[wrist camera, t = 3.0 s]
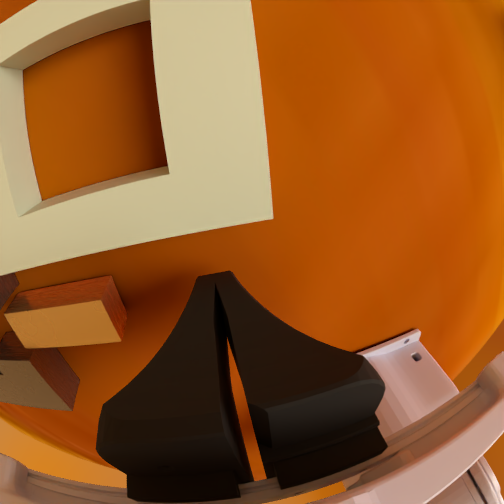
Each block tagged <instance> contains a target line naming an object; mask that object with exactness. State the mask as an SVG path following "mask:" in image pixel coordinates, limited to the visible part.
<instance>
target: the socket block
mask: <svg viewBox="0 0 504 504" xmlns="http://www.w3.org/2000/svg"><path fill="white" fill-rule="evenodd" d="M18 285H19V282H18V280H17V278H16V276H15V274H14V272H13V273H9V274H5V275H1V276H0V309H1V308H2V306H3V305H4V303H5V302H6V301H7V299H8V298H9V296H10V295H11V294H12V292H13V291H14V290H15V288H16V287H17V286H18ZM79 381H80V380H79V378H78V377H77V376H76V374H75V373H74V372H73V371H72V369H71V368H70V367H69V365H68V364H67V362H66V361H65V360H64V358H63V357H62V355H61V354H60V353H59V351H58V350H57V348H56V347H49V348H25V347H24V345H23V344H22V342H21V341H20V339H19V338H18V336H17V335H16V333H15V332H14V331H13V332H6V333H5V335H4V337H3V339H2V340H1V342H0V402H5V403H11V404H16V405H23V406H29V407H37V408H45V409H55V410H67V411H73V407H74V402H75V398H76V394H77V389H78V385H79Z"/></svg>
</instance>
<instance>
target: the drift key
mask: <svg viewBox="0 0 504 504" xmlns="http://www.w3.org/2000/svg"><path fill="white" fill-rule="evenodd" d="M4 316H5V317H6V319H7V321H8V322H9V324H10V325H11V327H12V329H13V330H14V332H15V333H16V335H17V336H18V338H19V339H20V341H21V342H22V344H23V345H24V347H25V348H49V347H66V346H79V345H91V344H101V343H111V342H120V341H122V338H123V333H124V329H125V324H126V320H127V316H128V314H127V312H126V309H125V307H124V305H123V302H122V300H121V298H120V295H119V293H118V291H117V288H116V286H115V283H114V281H113V278H112V276H111V275H109V276H104V277H99V278H93V279H88V280H83V281H78V282H72V283H67V284H62V285H57V286H51V287H46V288H41V289H36V290H31V291H25V292H20V293H18V294H17V296H16V297H15V298H14V300H13V301H12V303H11V304H10V306H9V307H8V308H7V310H6V311H5V313H4Z"/></svg>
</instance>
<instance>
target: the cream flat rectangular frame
mask: <svg viewBox="0 0 504 504" xmlns="http://www.w3.org/2000/svg"><path fill="white" fill-rule="evenodd" d="M148 20H151V32H152V46H153V58H154V68H155V78H156V87H157V95H158V103H159V111H160V118H161V125H162V131H163V138H164V144H165V150H166V156H167V162H168V166H164V167H160V168H155V169H151V170H146V171H142V172H138V173H134V174H130V175H126V176H122V177H118V178H114V179H110V180H107V181H103V182H100V183H96V184H93V185H89V186H86V187H83V188H80V189H76V190H73V191H70V192H67V193H64V194H61V195H58V196H55V197H52V198H49V199H47V200H44V201H42V199H41V195H40V192H39V188H38V184H37V180H36V176H35V171H34V167H33V162H32V157H31V151H30V146H29V140H28V133H27V126H26V117H25V107H24V94H23V70H24V69H26V68H27V67H29V66H31V65H33V64H34V63H36V62H38V61H40V60H42V59H44V58H46V57H48V56H50V55H52V54H54V53H56V52H58V51H60V50H62V49H65V48H67V47H69V46H71V45H74V44H76V43H79V42H81V41H84V40H86V39H89V38H91V37H94V36H97V35H100V34H103V33H105V32H109V31H112V30H115V29H118V28H121V27H125V26H128V25H132V24H136V23H140V22H144V21H148ZM268 219H273V208H272V196H271V184H270V172H269V161H268V150H267V139H266V129H265V119H264V109H263V100H262V90H261V81H260V73H259V64H258V56H257V47H256V39H255V31H254V24H253V16H252V9H251V2H250V0H38V1H36V2H34V3H32V4H31V5H29V6H27V7H26V8H24V9H22V10H21V11H19V12H18V13H16V14H15V15H13V16H12V17H10V18H9V19H7V20H6V21H4V22H3V23H1V24H0V276H1V275H5V274H9V273H13V272H16V271H20V270H24V269H28V268H32V267H36V266H40V265H45V264H49V263H53V262H57V261H61V260H66V259H70V258H74V257H79V256H83V255H87V254H92V253H96V252H101V251H106V250H110V249H115V248H120V247H124V246H129V245H134V244H139V243H144V242H149V241H153V240H158V239H164V238H169V237H174V236H179V235H184V234H189V233H195V232H200V231H205V230H211V229H216V228H222V227H228V226H233V225H239V224H245V223H251V222H256V221H262V220H268Z"/></svg>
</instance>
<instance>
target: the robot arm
mask: <svg viewBox="0 0 504 504" xmlns="http://www.w3.org/2000/svg"><path fill="white" fill-rule="evenodd" d="M420 335H421V332H420V331H419V330H418V329H415V330H413V331H411V332H408V333H406V334H404V335H402V336H399V337H397V338H394V339H392V340H390V341H387V342H385V343H382V344H380V345H377V346H374V347H372V348H369V349H367V350H364V351H361V352H358V353H352V352H349V351H346V350H342V349H339V348H336V347H333V346H330V345H328V344H325V343H323V342H320V341H318V340H315V339H313V338H311V337H309V336H307V335H305V334H303V333H301V332H300V331H298V330H296V329H294V328H292V327H291V326H289V325H288V324H286V323H284V322H283V321H282V320H280V319H279V318H277V317H276V316H274V315H273V314H272V313H271V312H269V311H268V310H267V309H266V308H264V307H263V306H262V305H261V304H260V303H259V302H258V301H257V300H255V299H254V298H253V297H252V296H251V295H250V293H249V292H248V291H247V290H246V289H245V288H244V287H243V286H242V285H241V284H240V282H239V281H238V280H237V278H236V277H235V275H234V274H233V272H231V271H225V272H220V273H214V274H209V275H203V276H198V278H197V279H196V282H195V285H194V288H193V291H192V293H191V296H190V298H189V300H188V302H187V305H186V307H185V309H184V311H183V313H182V315H181V317H180V318H179V320H178V322H177V324H176V326H175V328H174V329H173V331H172V332H171V334H170V336H169V337H168V339H167V340H166V342H165V343H164V344H163V346H162V347H161V348H160V350H159V351H158V352H157V354H156V355H155V356H154V358H153V359H152V360H151V361H150V362H149V364H148V365H147V366H146V367H145V368H144V369H143V370H142V371H141V372H140V373H139V374H138V375H137V376H136V377H135V378H134V379H133V380H132V381H131V382H130V383H129V384H128V385H126V386H125V387H124V388H123V389H122V390H121V391H119V392H118V393H117V394H116V395H114V396H113V397H112V398H111V399H110V400H108V401H107V402H106V403H104V404H103V406H102V410H101V414H100V418H99V424H98V433H97V442H96V450H97V452H98V454H99V455H100V456H101V457H102V458H103V459H104V460H105V461H106V462H108V463H109V464H111V465H112V466H114V467H115V468H117V469H119V470H120V471H122V472H123V473H125V474H127V488H117V487H108V486H100V485H94V484H88V483H83V482H77V481H72V480H68V479H63V478H59V477H55V476H51V475H48V474H44V473H41V472H37V471H34V470H31V469H28V468H27V467H26V466H24V465H23V464H22V463H20V462H19V461H17V460H15V459H13V458H11V457H9V456H6V455H4V454H1V453H0V504H262V503H267V502H272V501H276V500H281V499H285V498H288V497H293V496H296V495H300V494H304V493H307V492H310V491H314V490H317V489H320V488H323V487H326V486H329V485H332V484H334V483H337V482H340V481H342V482H343V484H344V487H345V489H346V491H345V492H342V493H339V494H336V495H333V496H330V497H327V498H324V499H321V500H318V501H314V502H310V503H307V504H504V501H503V498H502V496H501V494H500V486H499V483H498V481H497V479H496V477H495V475H494V473H493V471H492V470H491V468H490V466H489V465H488V463H487V462H486V460H485V458H484V457H483V454H484V453H485V452H486V451H487V450H488V449H489V448H490V447H491V446H492V444H494V442H495V441H496V440H497V439H498V438H499V437H500V436H501V435H502V433H503V432H504V352H503V351H502V352H500V353H499V354H498V355H497V356H496V357H495V358H494V359H492V360H491V361H490V362H489V363H488V364H487V365H486V366H485V367H484V368H483V370H482V371H481V373H480V374H479V375H478V377H477V379H476V380H475V381H474V382H473V383H472V384H470V385H469V386H468V387H467V388H465V389H464V390H463V391H461V392H460V393H459V391H458V389H457V388H456V386H455V385H454V384H453V383H452V381H451V380H450V378H449V377H448V376H447V375H446V373H445V372H444V371H443V370H442V368H441V367H440V366H439V365H438V363H437V362H436V361H435V360H434V358H433V357H432V356H431V355H430V353H429V352H428V351H427V350H426V349H425V347H424V346H423V345H422V344H421V343H420V341H419V337H420ZM227 338H228V341H229V344H230V347H231V351H232V354H233V357H234V360H235V363H236V366H237V369H238V372H239V375H240V378H241V381H242V384H243V388H244V391H245V396H246V400H247V404H248V408H249V412H250V416H251V420H252V424H253V428H254V432H255V436H256V440H257V444H258V447H259V451H260V455H261V459H262V462H263V466H264V470H265V473H266V477H267V479H264V480H259V481H254V478H253V475H252V471H251V467H250V464H249V460H248V456H247V452H246V448H245V444H244V440H243V436H242V432H241V428H240V424H239V419H238V415H237V411H236V406H235V401H234V397H233V392H232V386H231V377H230V367H229V356H228V345H227Z"/></svg>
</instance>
